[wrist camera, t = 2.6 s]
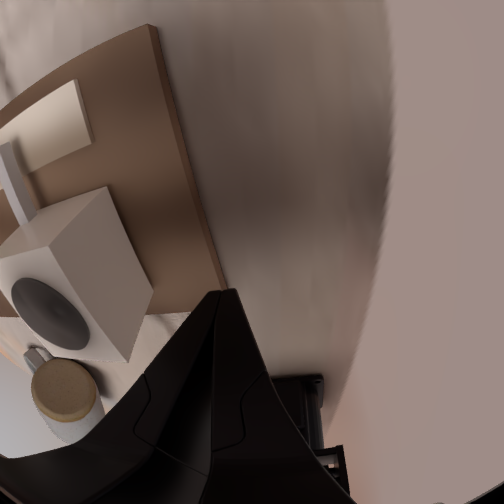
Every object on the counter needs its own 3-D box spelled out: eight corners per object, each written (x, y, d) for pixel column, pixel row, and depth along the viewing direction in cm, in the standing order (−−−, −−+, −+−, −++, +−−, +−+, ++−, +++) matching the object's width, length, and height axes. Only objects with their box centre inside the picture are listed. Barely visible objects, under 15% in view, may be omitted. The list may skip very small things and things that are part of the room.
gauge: (153, 291, 14) (126, 366, 10) (54, 299, 15) (22, 354, 11) (78, 100, 8) (-5, 131, 5) (-16, 162, 9) (-73, 203, 6)
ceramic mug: (106, 369, 22) (82, 440, 16) (113, 400, 27) (96, 456, 21) (20, 329, 21) (-11, 387, 14) (39, 367, 25) (17, 416, 19)
